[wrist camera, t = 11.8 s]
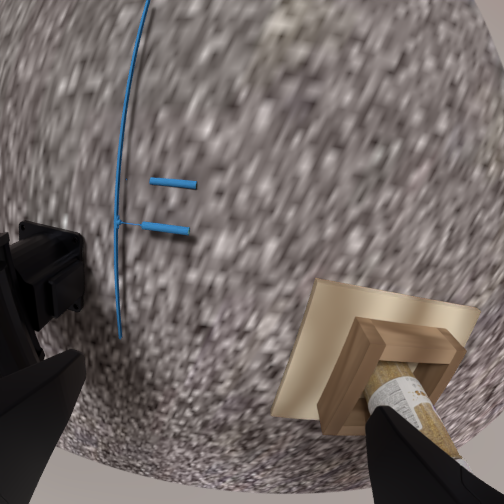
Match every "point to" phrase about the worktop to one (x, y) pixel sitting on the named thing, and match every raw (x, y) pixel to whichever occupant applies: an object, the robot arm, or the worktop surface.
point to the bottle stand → (366, 351)
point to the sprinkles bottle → (408, 403)
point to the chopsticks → (152, 180)
